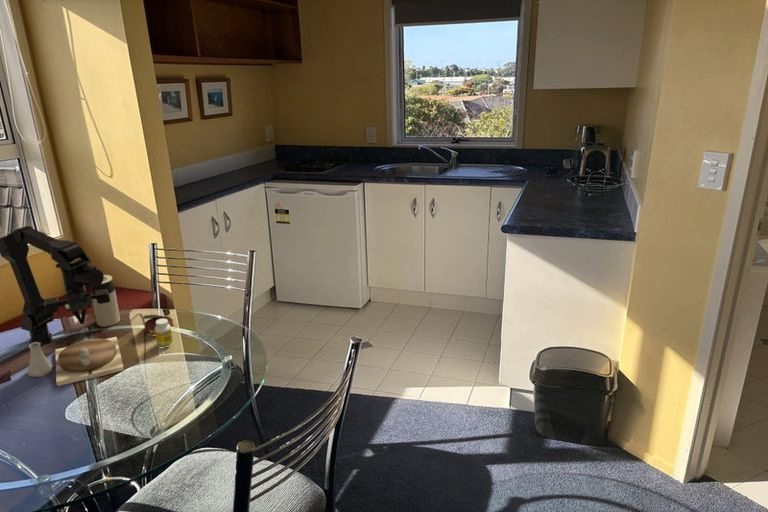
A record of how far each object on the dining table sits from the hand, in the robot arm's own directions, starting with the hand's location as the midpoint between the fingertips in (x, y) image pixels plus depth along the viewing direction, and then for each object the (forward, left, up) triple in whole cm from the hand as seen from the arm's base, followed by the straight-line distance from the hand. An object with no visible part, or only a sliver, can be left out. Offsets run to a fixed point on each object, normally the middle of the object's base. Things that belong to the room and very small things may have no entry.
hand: (82, 323), depth 184 cm
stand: (+5, 0, -12) cm, 13 cm away
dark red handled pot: (-7, +24, -12) cm, 28 cm away
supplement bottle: (+5, +24, -12) cm, 27 cm away
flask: (+4, -14, -12) cm, 19 cm away
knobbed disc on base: (+5, 0, -10) cm, 11 cm away
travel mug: (-21, +8, -12) cm, 26 cm away
